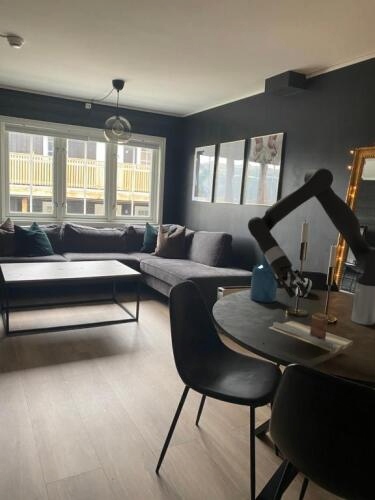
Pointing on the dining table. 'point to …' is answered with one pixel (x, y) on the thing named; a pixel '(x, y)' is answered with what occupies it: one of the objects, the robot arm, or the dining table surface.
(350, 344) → the board
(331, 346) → the rail
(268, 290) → the wine bottle
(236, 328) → the dining table surface
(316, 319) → the brown squarish block
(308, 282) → the hinge
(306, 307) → the dining table surface
